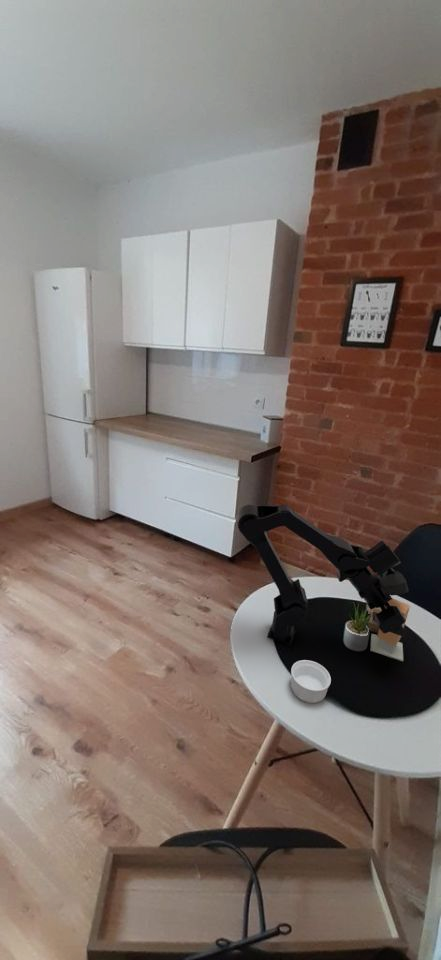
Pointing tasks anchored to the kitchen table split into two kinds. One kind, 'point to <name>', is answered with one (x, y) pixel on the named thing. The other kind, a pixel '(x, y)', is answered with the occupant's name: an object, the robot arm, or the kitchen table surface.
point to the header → (371, 623)
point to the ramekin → (309, 681)
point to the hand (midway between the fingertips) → (397, 623)
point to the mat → (396, 653)
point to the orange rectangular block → (390, 639)
